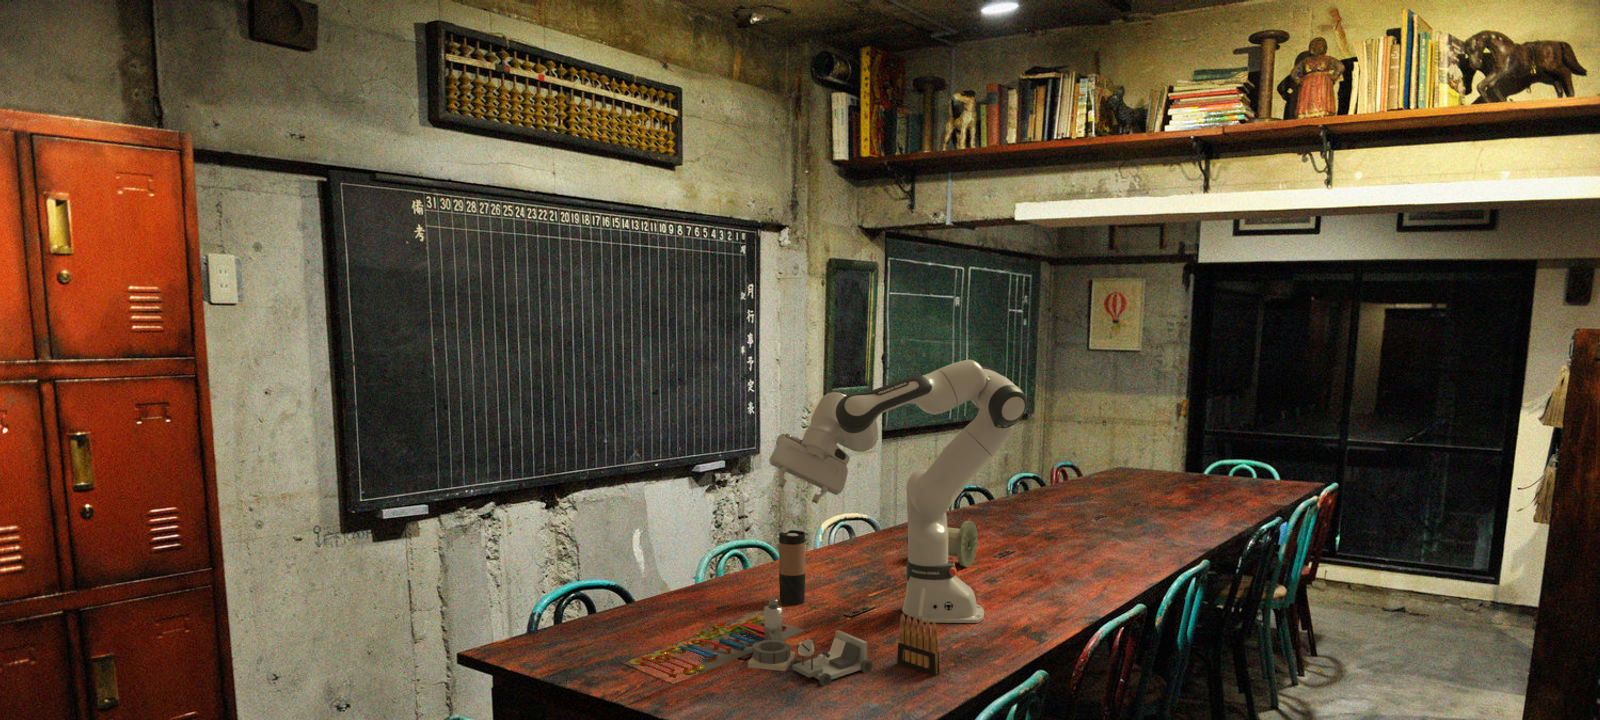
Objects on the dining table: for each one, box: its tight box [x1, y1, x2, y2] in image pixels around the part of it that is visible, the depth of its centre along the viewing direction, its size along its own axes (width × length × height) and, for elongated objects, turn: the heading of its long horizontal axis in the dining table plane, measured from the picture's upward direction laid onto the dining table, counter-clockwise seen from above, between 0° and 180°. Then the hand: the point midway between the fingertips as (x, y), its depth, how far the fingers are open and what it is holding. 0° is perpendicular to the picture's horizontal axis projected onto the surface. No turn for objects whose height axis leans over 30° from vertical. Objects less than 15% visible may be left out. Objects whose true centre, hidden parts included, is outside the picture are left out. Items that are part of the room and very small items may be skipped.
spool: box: [947, 520, 979, 568], centre depth 286 cm, size 16×15×15 cm
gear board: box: [629, 614, 806, 678], centre depth 209 cm, size 45×2×19 cm
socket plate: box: [747, 640, 796, 672], centre depth 199 cm, size 9×9×4 cm
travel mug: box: [778, 529, 806, 606], centre depth 244 cm, size 8×8×20 cm
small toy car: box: [788, 629, 873, 688], centre depth 193 cm, size 18×10×12 cm
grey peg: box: [763, 597, 783, 641], centre depth 208 cm, size 4×4×12 cm
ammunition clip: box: [896, 612, 940, 677], centre depth 195 cm, size 11×2×12 cm, turn 47°
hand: (797, 494), depth 212 cm, fingers open, 8 cm apart
